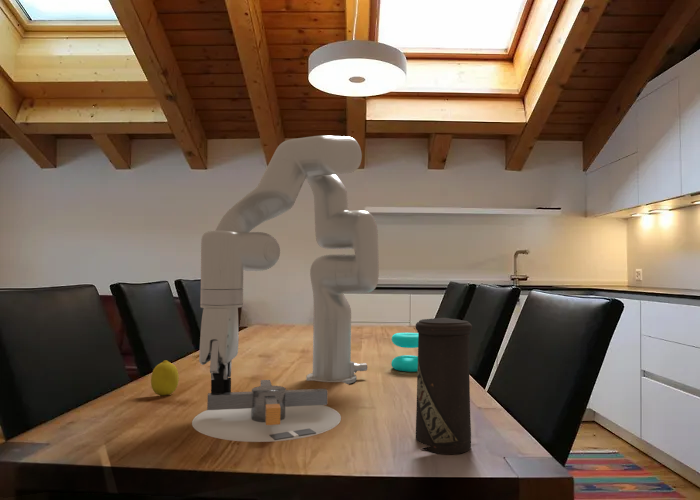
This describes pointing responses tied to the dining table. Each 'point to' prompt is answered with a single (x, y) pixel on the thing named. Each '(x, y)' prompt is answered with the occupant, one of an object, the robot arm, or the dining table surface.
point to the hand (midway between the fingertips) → (220, 400)
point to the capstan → (267, 401)
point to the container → (443, 385)
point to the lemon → (164, 378)
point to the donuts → (405, 361)
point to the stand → (245, 429)
